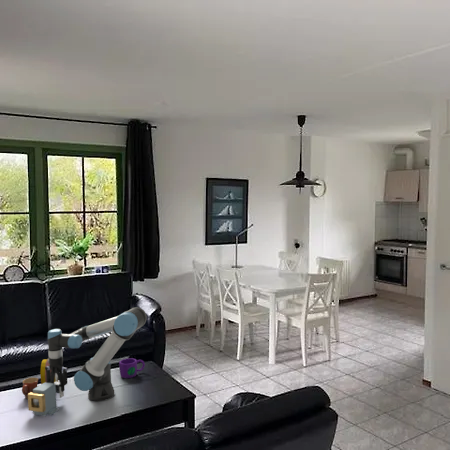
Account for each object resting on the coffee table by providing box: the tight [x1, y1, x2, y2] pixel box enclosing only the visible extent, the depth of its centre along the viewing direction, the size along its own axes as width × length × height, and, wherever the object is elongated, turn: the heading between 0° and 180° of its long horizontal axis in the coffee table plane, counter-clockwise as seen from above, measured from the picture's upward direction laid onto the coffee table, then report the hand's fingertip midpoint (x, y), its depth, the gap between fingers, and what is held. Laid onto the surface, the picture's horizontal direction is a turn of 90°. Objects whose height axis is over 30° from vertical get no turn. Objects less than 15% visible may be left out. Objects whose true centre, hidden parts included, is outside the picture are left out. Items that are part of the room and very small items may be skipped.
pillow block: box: [32, 382, 59, 417], centre depth 263 cm, size 12×10×14 cm
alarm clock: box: [40, 357, 59, 385], centre depth 296 cm, size 15×8×18 cm, turn 9°
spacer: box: [27, 392, 46, 412], centre depth 256 cm, size 9×2×9 cm, turn 74°
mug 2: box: [118, 357, 146, 379], centre depth 313 cm, size 17×11×10 cm, turn 124°
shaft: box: [33, 381, 60, 404], centre depth 265 cm, size 5×21×5 cm, turn 164°
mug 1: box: [21, 377, 39, 400], centre depth 280 cm, size 12×9×10 cm
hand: (57, 396), depth 274 cm, fingers closed on shaft, 5 cm apart
